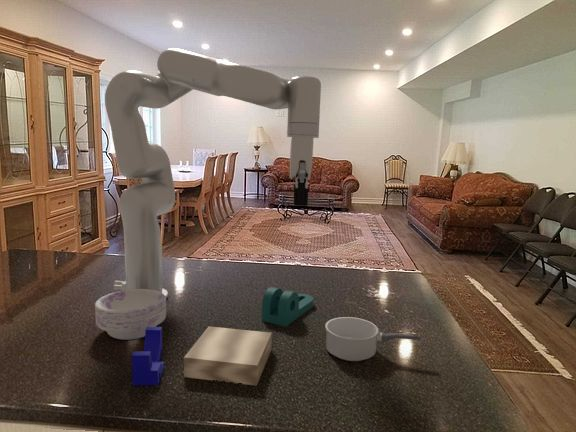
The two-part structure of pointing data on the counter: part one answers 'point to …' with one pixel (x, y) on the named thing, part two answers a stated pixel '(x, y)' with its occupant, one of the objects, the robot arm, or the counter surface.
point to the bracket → (284, 306)
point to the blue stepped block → (148, 359)
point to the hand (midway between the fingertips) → (300, 202)
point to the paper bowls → (130, 312)
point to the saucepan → (356, 338)
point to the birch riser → (228, 355)
